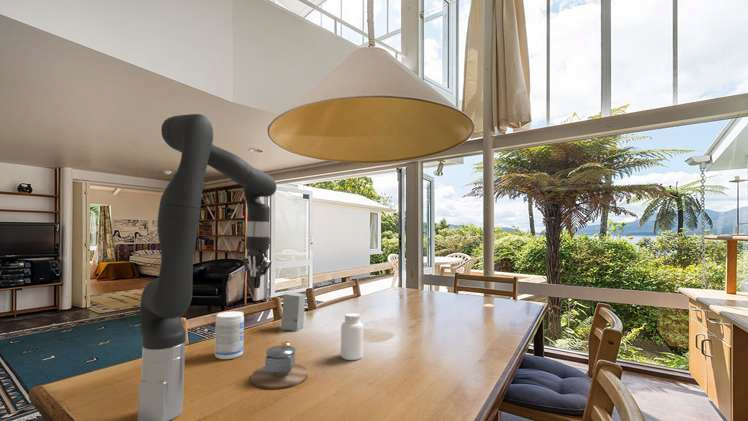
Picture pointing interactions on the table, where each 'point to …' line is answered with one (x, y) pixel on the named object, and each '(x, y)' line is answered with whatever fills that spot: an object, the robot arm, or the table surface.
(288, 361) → the coupling
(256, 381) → the post base
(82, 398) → the table surface
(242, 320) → the supplement tub
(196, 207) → the robot arm
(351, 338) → the pill bottle
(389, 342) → the table surface
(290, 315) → the skincare box
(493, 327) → the table surface
